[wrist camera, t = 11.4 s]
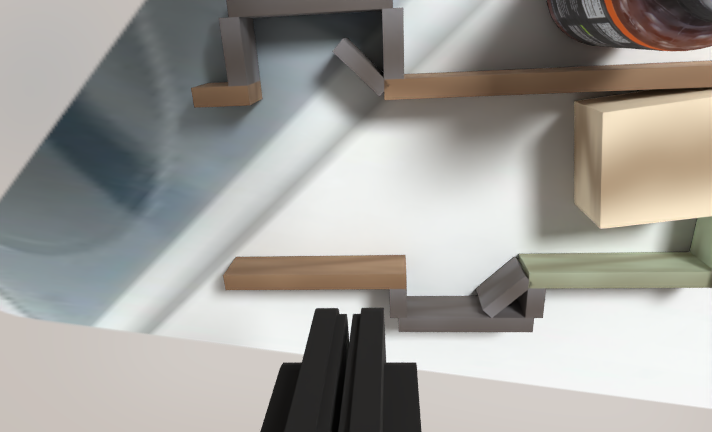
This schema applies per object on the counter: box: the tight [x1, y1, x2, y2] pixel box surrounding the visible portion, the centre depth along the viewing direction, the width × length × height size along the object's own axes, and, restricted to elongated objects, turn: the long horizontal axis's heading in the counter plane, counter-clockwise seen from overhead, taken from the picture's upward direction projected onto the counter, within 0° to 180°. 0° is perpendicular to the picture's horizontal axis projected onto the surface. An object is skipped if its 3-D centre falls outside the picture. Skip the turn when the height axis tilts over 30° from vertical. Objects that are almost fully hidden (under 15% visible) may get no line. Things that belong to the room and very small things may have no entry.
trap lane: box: [191, 0, 712, 332], centre depth 26 cm, size 19×29×3 cm, turn 93°
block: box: [574, 87, 712, 229], centre depth 25 cm, size 6×6×4 cm
